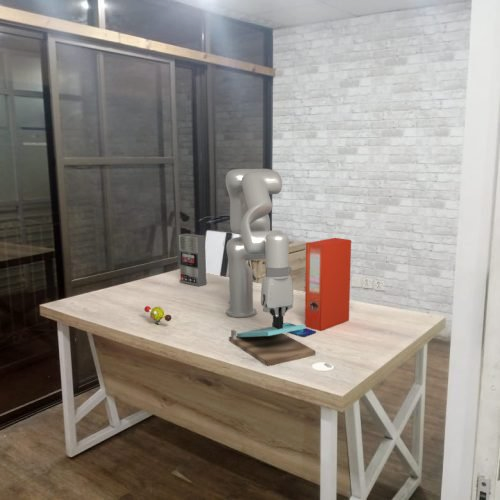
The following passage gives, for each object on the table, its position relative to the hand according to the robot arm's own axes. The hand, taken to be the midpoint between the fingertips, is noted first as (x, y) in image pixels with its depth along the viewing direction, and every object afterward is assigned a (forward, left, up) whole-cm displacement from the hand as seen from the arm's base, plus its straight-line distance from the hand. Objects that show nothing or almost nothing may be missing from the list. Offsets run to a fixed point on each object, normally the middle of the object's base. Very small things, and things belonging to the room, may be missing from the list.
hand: (278, 327), depth 169 cm
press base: (-5, 0, -9) cm, 10 cm away
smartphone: (-16, +17, -9) cm, 25 cm away
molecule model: (-50, -24, -9) cm, 56 cm away
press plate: (-6, 0, -4) cm, 7 cm away
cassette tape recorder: (-104, +13, -9) cm, 105 cm away
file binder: (-16, +32, -9) cm, 37 cm away
